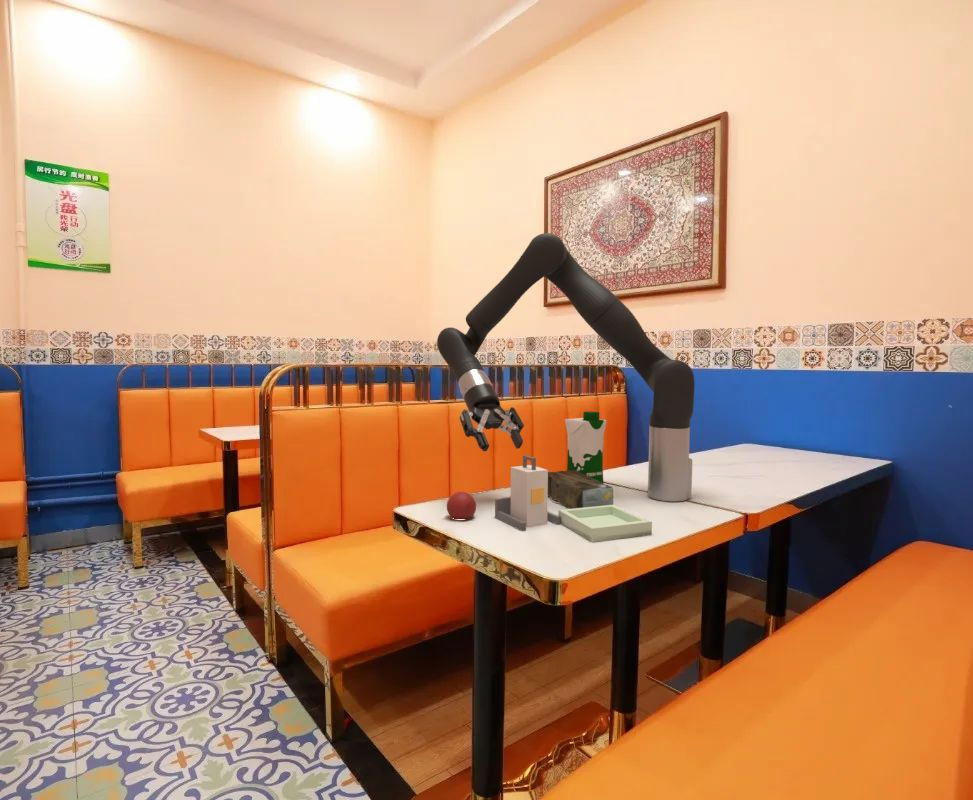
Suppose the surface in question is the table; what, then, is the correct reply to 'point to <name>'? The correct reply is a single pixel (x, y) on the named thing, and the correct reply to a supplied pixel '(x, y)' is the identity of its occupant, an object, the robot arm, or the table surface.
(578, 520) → the tray
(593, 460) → the milk carton
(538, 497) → the white tall block
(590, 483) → the beverage carton
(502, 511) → the bay
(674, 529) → the table surface
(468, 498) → the fruit
